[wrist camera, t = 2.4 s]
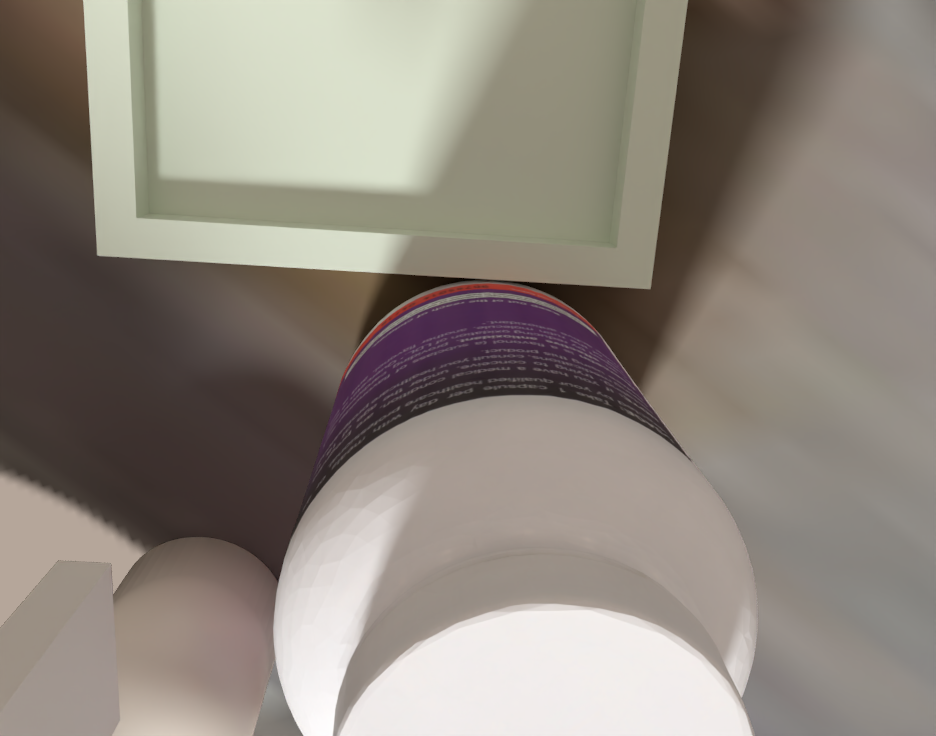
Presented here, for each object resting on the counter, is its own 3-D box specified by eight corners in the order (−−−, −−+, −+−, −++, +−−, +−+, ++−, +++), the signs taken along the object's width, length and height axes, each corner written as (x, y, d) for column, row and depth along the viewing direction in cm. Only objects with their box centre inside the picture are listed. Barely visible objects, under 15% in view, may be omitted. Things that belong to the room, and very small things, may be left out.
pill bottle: (280, 392, 24) (75, 762, 11) (505, 211, 23) (605, 361, 9) (461, 587, 26) (487, 1114, 12) (676, 430, 25) (970, 821, 11)
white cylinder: (123, 678, 27) (37, 833, 21) (115, 533, 25) (21, 656, 20) (285, 684, 27) (244, 838, 21) (286, 540, 26) (243, 664, 20)
